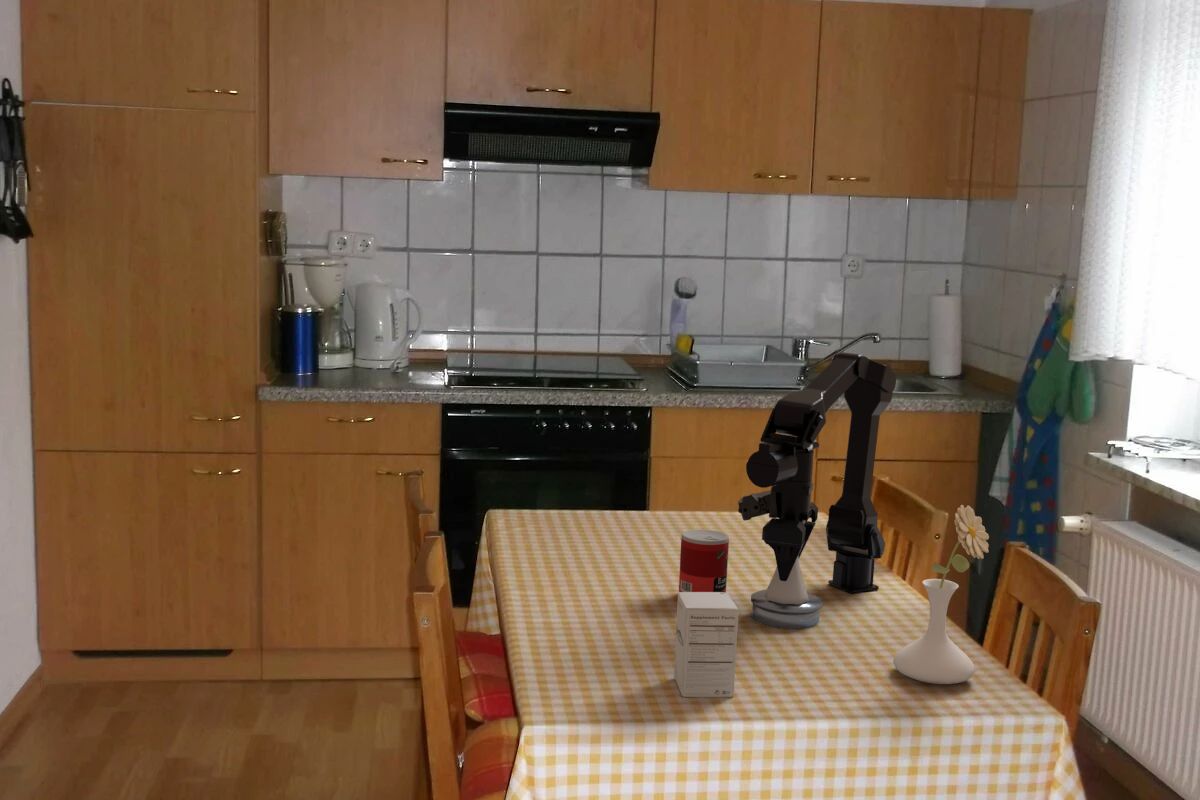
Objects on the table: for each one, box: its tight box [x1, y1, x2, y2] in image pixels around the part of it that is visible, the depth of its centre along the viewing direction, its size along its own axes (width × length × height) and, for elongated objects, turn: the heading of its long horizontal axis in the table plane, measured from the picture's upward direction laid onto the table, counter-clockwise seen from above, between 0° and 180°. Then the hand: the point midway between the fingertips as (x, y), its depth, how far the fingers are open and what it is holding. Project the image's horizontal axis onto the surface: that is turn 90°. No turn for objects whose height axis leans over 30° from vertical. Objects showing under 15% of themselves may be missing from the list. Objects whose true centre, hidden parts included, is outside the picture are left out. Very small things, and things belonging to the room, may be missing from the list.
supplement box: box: [673, 591, 739, 698], centre depth 177 cm, size 7×7×13 cm
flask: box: [765, 557, 809, 605], centre depth 209 cm, size 7×7×10 cm
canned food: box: [678, 529, 730, 593], centre depth 218 cm, size 8×8×11 cm
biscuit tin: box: [750, 589, 823, 630], centre depth 210 cm, size 11×11×4 cm
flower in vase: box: [892, 504, 990, 685], centre depth 184 cm, size 13×11×25 cm
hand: (787, 573), depth 209 cm, fingers open, 9 cm apart
